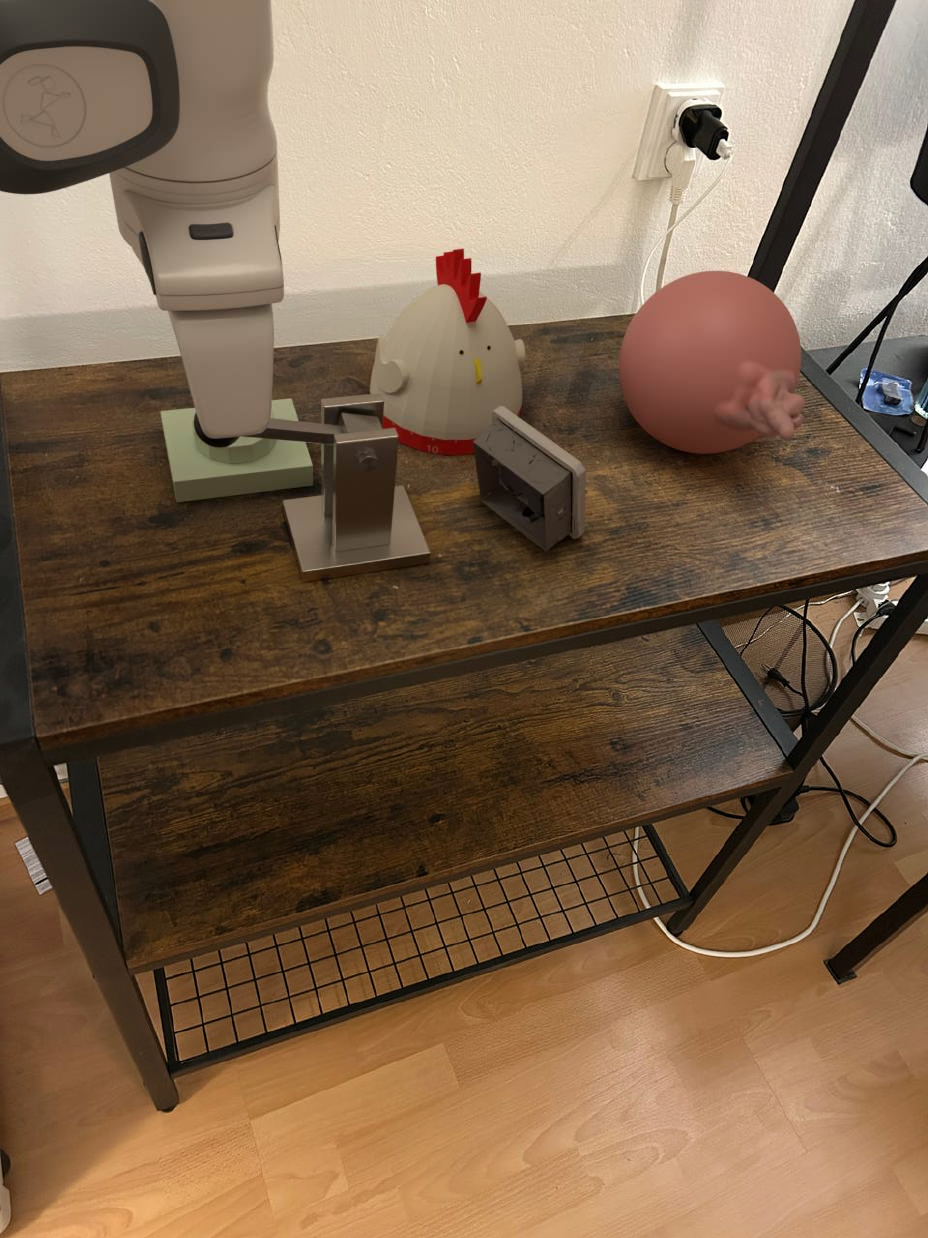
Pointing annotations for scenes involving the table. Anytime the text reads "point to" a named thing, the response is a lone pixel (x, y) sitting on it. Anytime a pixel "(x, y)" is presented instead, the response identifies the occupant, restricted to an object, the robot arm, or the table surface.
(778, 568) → the table surface
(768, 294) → the balloon
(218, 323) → the robot arm
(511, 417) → the electrical switch
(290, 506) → the switch bracket
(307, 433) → the switch lever
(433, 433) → the kitchen timer
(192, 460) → the control block
